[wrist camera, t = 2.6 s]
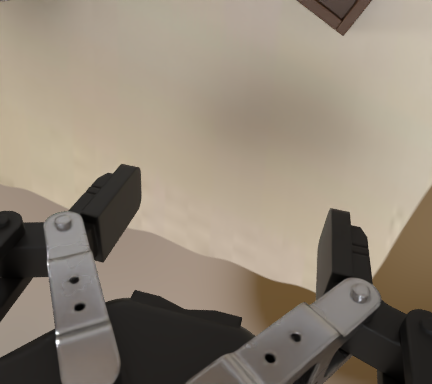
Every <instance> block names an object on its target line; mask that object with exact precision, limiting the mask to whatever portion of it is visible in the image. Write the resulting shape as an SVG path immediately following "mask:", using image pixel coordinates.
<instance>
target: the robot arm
mask: <svg viewBox="0 0 432 384" xmlns="http://www.w3.org/2000/svg"><path fill="white" fill-rule="evenodd" d="M1 1H8V0H0V2H1ZM140 203H141V171H140V168H139V167H134V166H130V165H125V164H121V165H120V166H119V167H118V169H117V170H116V171H115V172H114V173H113V174H112V173H107V174H105V175H103V176H101V177H99V178H98V179H97V180H96V181H95V182H94V183H93V184H92V185H91V187H89V189H88V190H87V191H86V193H84V194H83V195H82V196H81V197H80V199H79V200H78V201H77V202H76V203H75V204H74V205H73V206H72V207H71V209H70V210H69V211H64V212H59V213H55V214H53V215H51V216H50V217H48V218H47V219H46V220H45V222H40V223H38V222H36V223H23V220H22V217H21V215H20V214H18V213H16V212H13V211H1V212H0V321H1V320H2V319H3V318H4V316H5V315H6V313H7V312H8V311H9V309H10V308H11V307H12V305H13V304H14V303H15V301H16V300H17V299H18V297H19V296H20V295H21V293H22V292H23V291H24V289H25V288H26V286H27V285H28V284H29V282H30V281H31V280H32V278H33V277H49V283H50V291H51V298H52V307H53V315H54V323H55V329H53V330H52V331H50V332H48V333H46V334H44V335H42V336H40V337H38V338H37V339H35V340H33V341H31V342H29V343H27V344H25V345H23V346H21V347H20V348H18V349H16V350H14V351H12V352H10V353H8V354H7V355H5V356H3V357H1V358H0V384H323V383H324V382H325V381H326V380H327V379H328V378H330V377H331V376H332V375H333V374H334V373H335V372H336V371H337V370H338V369H339V368H340V367H341V366H342V365H343V364H344V363H345V362H346V361H347V360H348V359H350V358H351V356H355V357H356V358H358V359H360V360H362V361H363V362H365V363H367V364H369V365H370V366H372V367H374V368H376V369H377V379H378V384H432V313H431V312H429V311H426V310H421V309H416V310H412V311H410V312H409V313H408V314H405V313H403V312H401V311H399V310H397V309H395V308H393V307H391V306H389V305H388V304H386V303H385V302H384V301H382V300H381V295H380V293H379V291H378V290H377V289H376V288H375V287H374V286H373V283H372V274H371V266H370V257H369V249H368V241H367V236H366V235H365V233H364V232H363V230H362V229H361V227H357V226H352V225H351V221H350V212H346V211H342V210H337V209H332V208H330V210H329V212H328V215H327V218H326V221H325V224H324V227H323V230H322V233H321V237H320V240H319V245H318V254H317V282H316V301H315V302H314V303H312V304H311V305H308V304H307V303H305V302H304V303H301V304H299V305H298V306H297V307H295V308H294V309H293V310H291V311H290V312H288V313H287V314H286V315H284V316H283V317H281V318H280V319H279V320H277V321H276V322H275V323H273V324H272V325H271V326H269V327H268V328H266V329H265V330H264V331H262V332H261V333H260V334H258V335H257V336H255V335H253V334H252V333H251V332H250V331H248V330H247V329H245V328H243V327H241V321H242V317H238V316H234V315H230V314H226V313H222V312H218V311H213V310H187V309H183V308H181V307H179V306H177V305H176V304H174V303H172V302H170V301H168V300H166V299H164V298H162V297H160V296H156V295H152V294H149V293H144V292H140V291H137V290H135V291H134V292H133V294H132V296H131V298H121V299H115V300H111V301H108V302H105V301H104V297H103V293H102V289H101V285H100V281H99V277H98V273H97V269H96V265H95V261H99V262H104V261H105V259H106V258H107V256H108V255H109V253H110V252H111V250H112V249H113V247H114V246H115V244H116V243H117V241H118V240H119V238H120V237H121V235H122V234H123V232H124V231H125V229H126V228H127V226H128V225H129V223H130V222H131V220H132V219H133V217H134V215H135V214H136V212H137V211H138V209H139V207H140ZM94 260H95V261H94Z"/></svg>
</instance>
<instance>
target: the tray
mask: <svg viewBox="0 0 432 384" xmlns="http://www.w3.org/2000/svg"><path fill="white" fill-rule="evenodd" d="M297 1H298V2H300V3H301V4H302V5H304V6H305V7H306V8H308V9H309V10H310V11H311V12H313V13H314V14H315V15H317V16H318V17H319V18H320V19H322V20H323V21H324V22H326V23H327V24H328V25H330V26H331V27H332V28H333V29H336V31H337V32H339V33H340V34H341V35H344V34H345V33H346V32H347V31H348V29H349V28H350V27H351V26H352V24H353V23H354V22H355V21H356V19H357V18H358V17H359V16H360V14H361V13H362V12H363V11H364V9H365V8H366V7H367V6H368V4H369V3H370V2H371V1H372V0H297Z"/></svg>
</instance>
